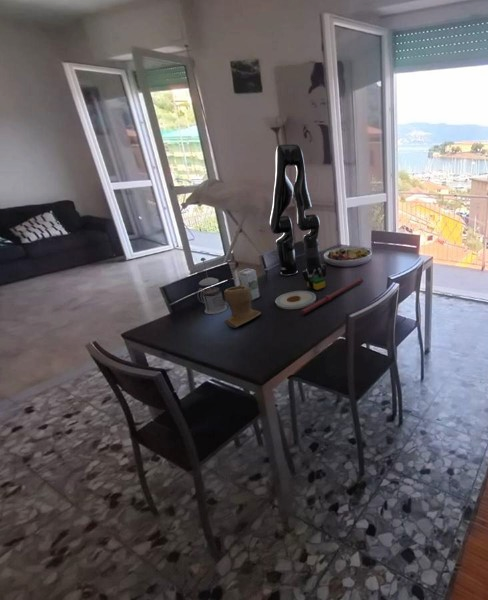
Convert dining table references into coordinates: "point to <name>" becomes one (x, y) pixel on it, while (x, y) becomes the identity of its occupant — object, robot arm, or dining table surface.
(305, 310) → the rolling pin
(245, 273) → the white canister
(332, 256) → the bowl
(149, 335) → the dining table surface
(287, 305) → the plate
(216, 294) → the french press
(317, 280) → the sponge
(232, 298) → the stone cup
